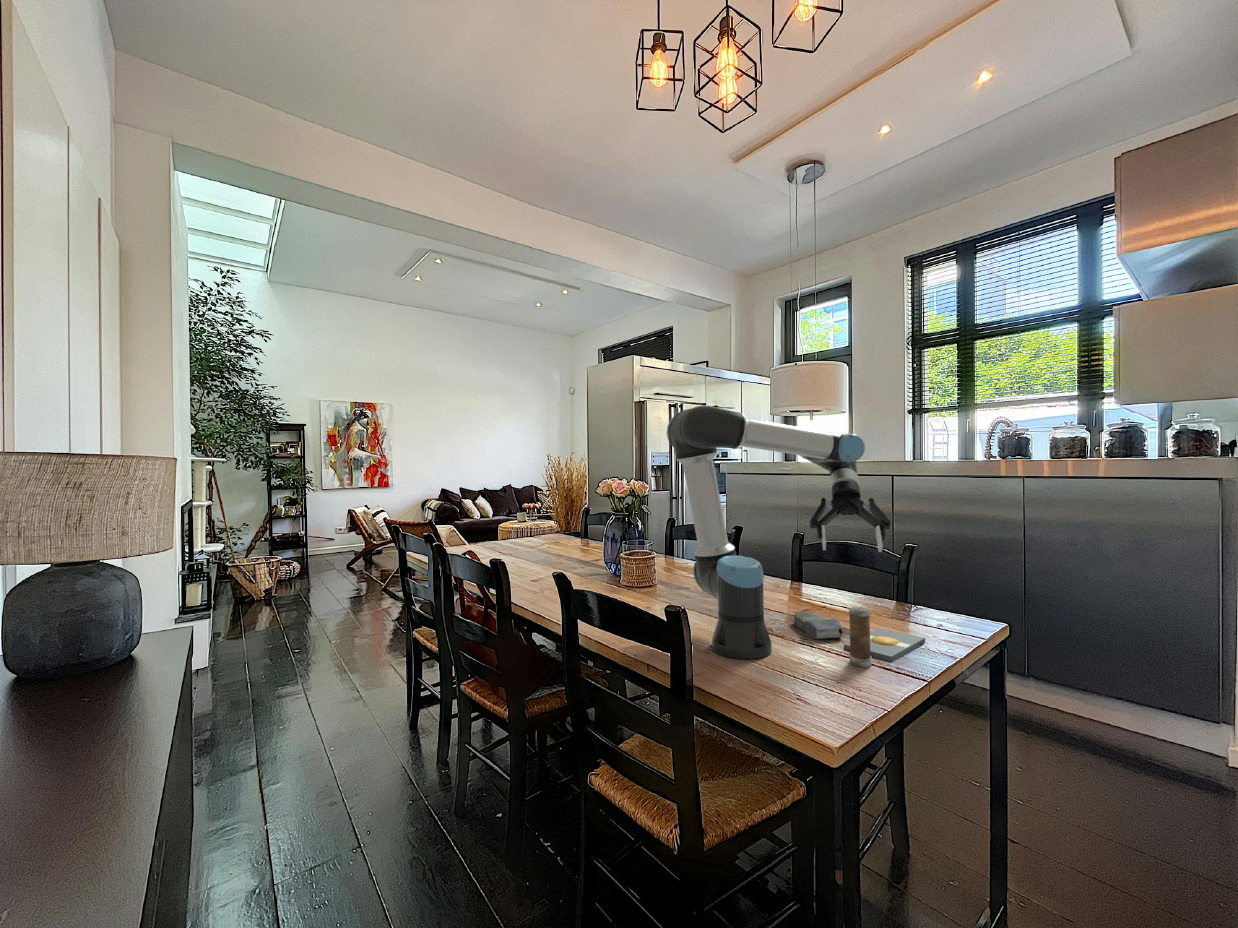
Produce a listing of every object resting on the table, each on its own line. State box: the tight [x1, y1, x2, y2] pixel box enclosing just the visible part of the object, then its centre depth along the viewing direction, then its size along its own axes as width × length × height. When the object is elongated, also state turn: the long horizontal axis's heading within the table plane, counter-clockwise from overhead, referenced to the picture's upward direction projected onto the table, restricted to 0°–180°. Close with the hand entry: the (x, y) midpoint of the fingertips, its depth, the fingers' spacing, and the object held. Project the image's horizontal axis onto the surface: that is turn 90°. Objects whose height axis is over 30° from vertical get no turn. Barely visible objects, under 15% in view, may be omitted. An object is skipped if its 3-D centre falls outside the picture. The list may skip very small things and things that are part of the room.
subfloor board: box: [843, 627, 926, 662], centre depth 140 cm, size 20×12×1 cm, turn 130°
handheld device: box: [793, 611, 844, 640], centre depth 154 cm, size 10×20×5 cm, turn 6°
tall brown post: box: [848, 606, 873, 669], centre depth 128 cm, size 5×5×13 cm
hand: (852, 548), depth 140 cm, fingers open, 13 cm apart
